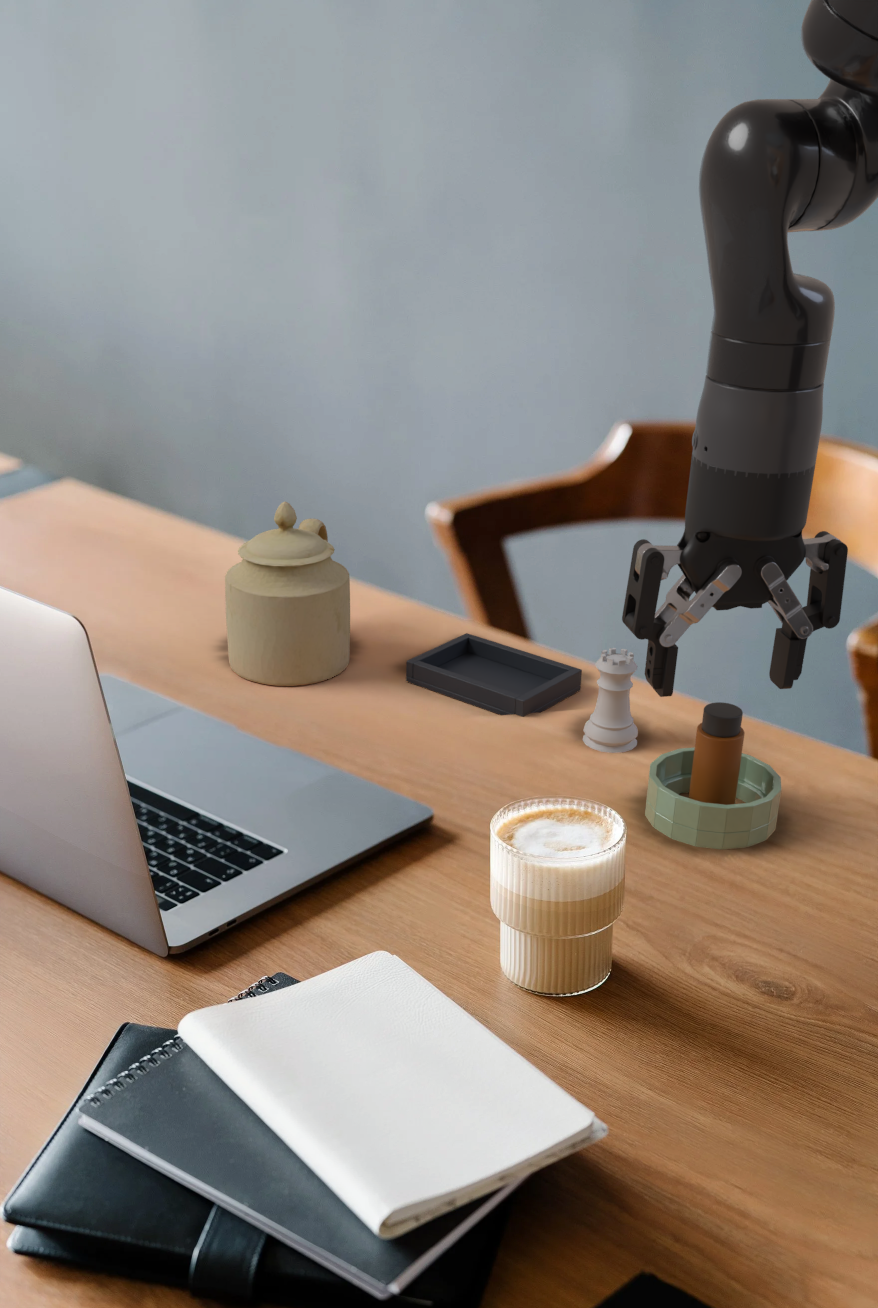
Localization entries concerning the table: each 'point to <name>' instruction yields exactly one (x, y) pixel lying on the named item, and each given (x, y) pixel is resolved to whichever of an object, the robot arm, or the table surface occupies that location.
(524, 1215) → the table surface
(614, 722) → the rook chess piece
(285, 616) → the sugar bowl
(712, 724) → the bottle
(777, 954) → the table surface
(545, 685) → the tray
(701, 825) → the green hollow ring
